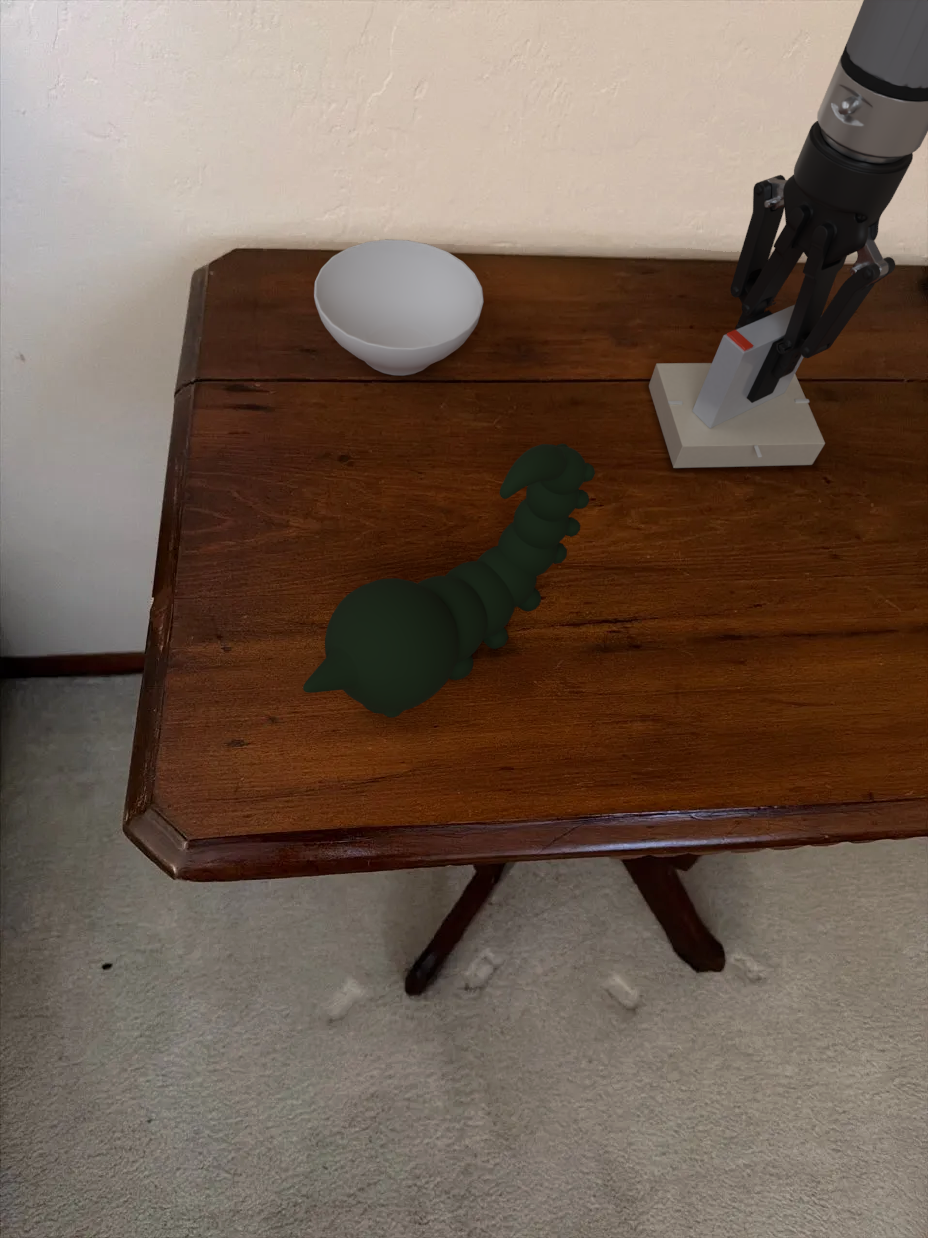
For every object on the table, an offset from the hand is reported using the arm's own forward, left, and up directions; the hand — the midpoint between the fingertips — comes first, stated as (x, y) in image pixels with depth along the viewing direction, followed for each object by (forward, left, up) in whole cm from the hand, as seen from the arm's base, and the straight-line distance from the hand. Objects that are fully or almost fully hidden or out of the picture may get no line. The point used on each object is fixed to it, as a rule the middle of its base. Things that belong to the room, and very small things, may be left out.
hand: (747, 383), depth 83 cm
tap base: (0, 0, -5) cm, 5 cm away
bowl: (+32, -11, -6) cm, 34 cm away
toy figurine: (+31, +24, -6) cm, 40 cm away
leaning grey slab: (0, 0, -2) cm, 2 cm away
